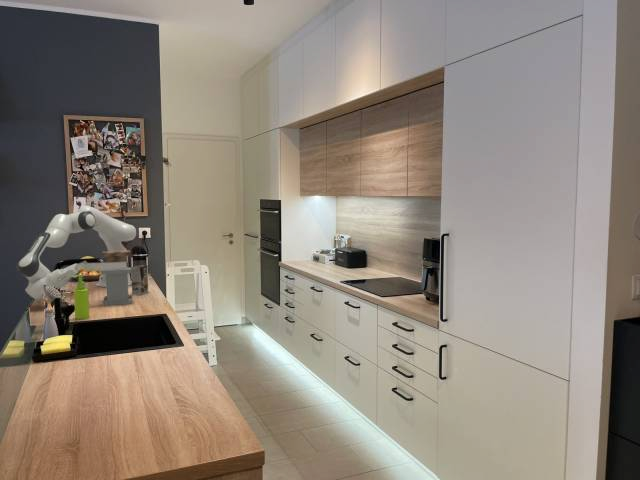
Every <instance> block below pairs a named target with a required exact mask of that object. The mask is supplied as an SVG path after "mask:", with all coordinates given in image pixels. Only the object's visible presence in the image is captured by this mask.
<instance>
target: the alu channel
mask: <svg viewBox="0 0 640 480" xmlns="http://www.w3.org/2000/svg"><path fill="white" fill-rule="evenodd" d="M84 264H85V265H86V266H85V267H83V272H99V271H102V270H121V269H127V265H126V261H124V262H107V261H103V262H87V263H84Z"/></svg>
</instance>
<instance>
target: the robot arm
mask: <svg viewBox="0 0 640 480" xmlns="http://www.w3.org/2000/svg"><path fill="white" fill-rule="evenodd" d="M90 230H94V231H96V232H97V234H98V237H99V238H100V239H102V240H103V242H104V244H105V246H106V249H107V251H128V250H127V248H126V247H125V246H124V245H123V244H122V242H129V241H132V240H134V239H135V238H136V236H137V228H136V227H135V226H134V225H132V224H129V223H126V222H124V221H121V220H119V219H116V218H114V217H112V216H109V215H107V214H106V213H104V212H103V211H101V210H99V209H97V208H95V207H92V206H90V205H82V206H81V207H79V208H78V209H77V212H72V213H70V214H66V213H65V214H64V213H59V214H55V215H54V216H53V218H52V219H51V221H50V222H49V223H48V226H47V228H46V230H45V231H44V232H41V233H39V235H37V237H36V238H35V240H34V241H33V243H32V244H31V246H30V247H29V249H28V250H27V252H26V253H25V254H24V255H23V257H22V258H20V260H19V261H18V262H17V266H16V269H17V272H18V273H19V274H20V275H22V276H23V277H25V278H26V279H27V280H28V285H27V287H26V288H25V289H24V290H25V293H26V295H27V296H29V297H30V299H32V300H34V301H40V300H42V299H43V298H42V294H41V289H42V287H43V285H46V286H52V287H55V288H57V290H60V289H61V288H63V287H65V286H66V285H68V284H69V281H70V280H71V278H72V276H75V275H78V273H79V271H81V269H84V267H85V266H86V265H85V264H84V263H88V262H87V261H86V260H84V261H82V262H79V263H74V264H71V265H69V266H67V267H64V268H60V269H59V268H57V269H55V270H53V271H52V272H51V270H50V269H49V268H47V266H45V265H44V264H43V263H42V262H41V260H40V257H41V255H42V253H43V252H44V251H45V249H46V248H47V247H48V248H53V249H55V248H56V249H58V248H62V247H63V246H64V245H65V244H66V243H67V241H68V238H69V236H70V234H76V233H77V234H78V233H81V232H84V231H90ZM127 268H130V263H129V256H127ZM130 274H131V273H128V287H129V286H132V279H131V275H130ZM94 286H96V287H100V288H106V275H101V274H100V275H99V279H98V282H97V283H95V285H94Z"/></svg>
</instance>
